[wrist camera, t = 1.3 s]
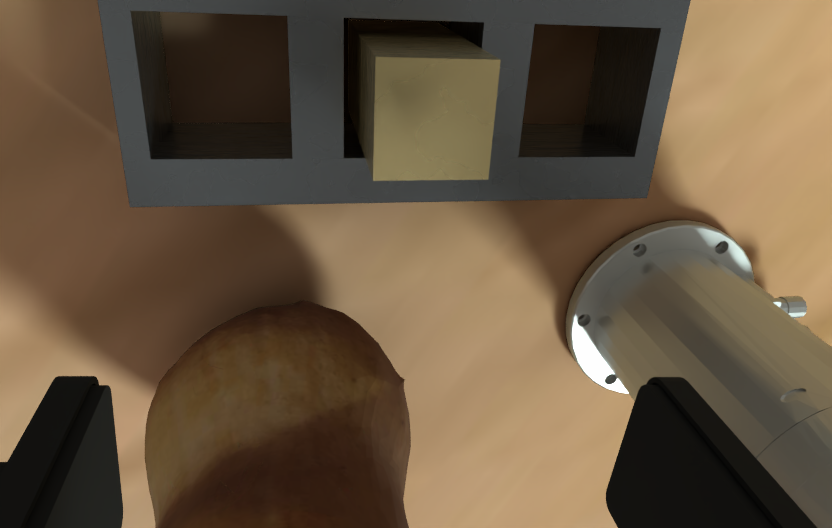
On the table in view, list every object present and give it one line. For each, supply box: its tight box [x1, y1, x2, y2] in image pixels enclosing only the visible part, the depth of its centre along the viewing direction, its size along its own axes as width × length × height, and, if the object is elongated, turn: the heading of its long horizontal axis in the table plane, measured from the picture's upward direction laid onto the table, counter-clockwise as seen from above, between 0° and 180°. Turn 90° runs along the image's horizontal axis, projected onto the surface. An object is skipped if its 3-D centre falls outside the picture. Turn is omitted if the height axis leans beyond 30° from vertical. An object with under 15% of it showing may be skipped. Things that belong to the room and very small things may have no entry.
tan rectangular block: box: [348, 19, 501, 181], centre depth 28 cm, size 4×4×11 cm
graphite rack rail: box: [98, 0, 690, 207], centre depth 30 cm, size 24×10×6 cm, turn 87°
